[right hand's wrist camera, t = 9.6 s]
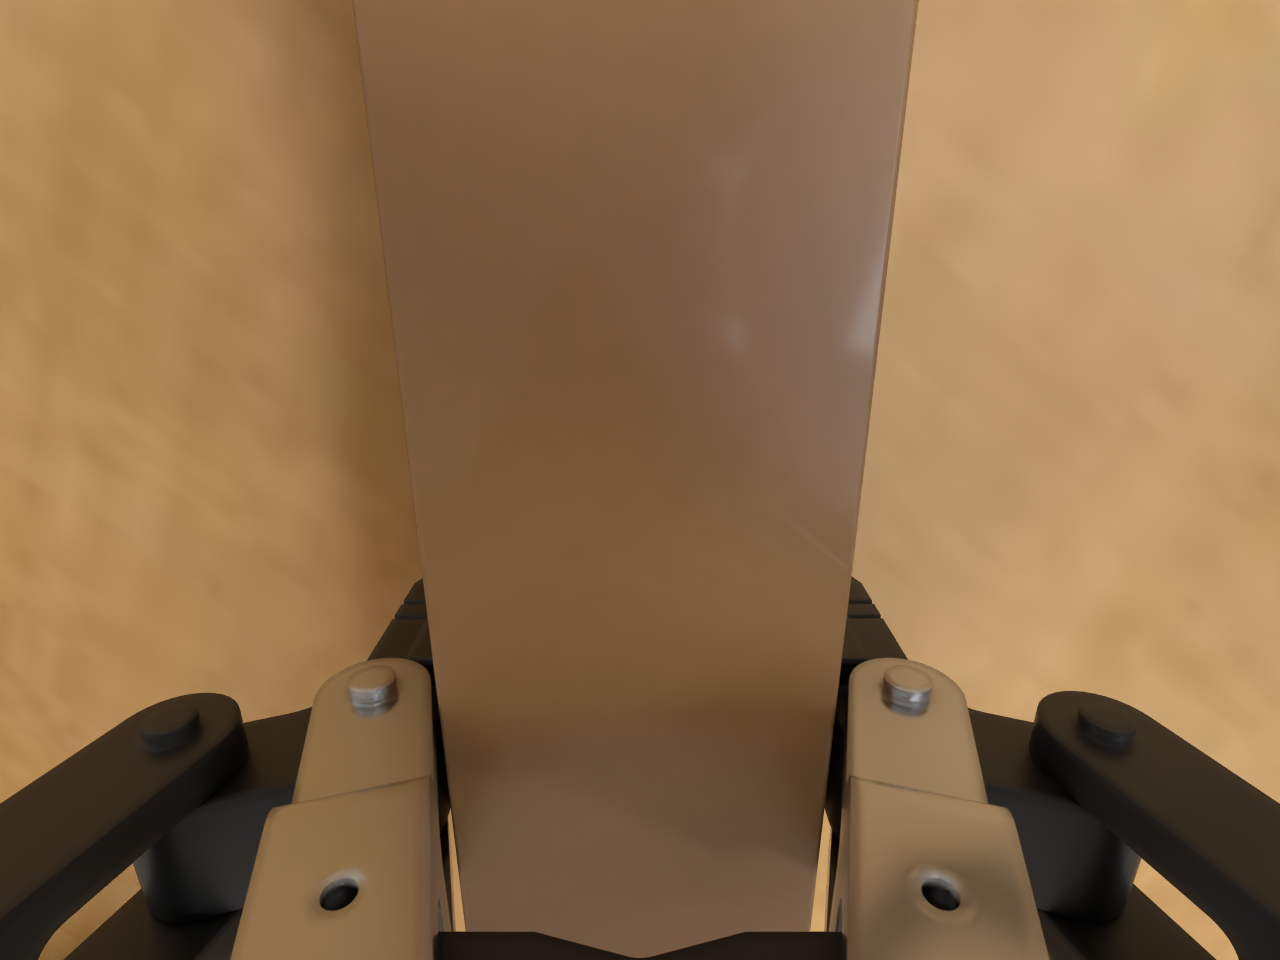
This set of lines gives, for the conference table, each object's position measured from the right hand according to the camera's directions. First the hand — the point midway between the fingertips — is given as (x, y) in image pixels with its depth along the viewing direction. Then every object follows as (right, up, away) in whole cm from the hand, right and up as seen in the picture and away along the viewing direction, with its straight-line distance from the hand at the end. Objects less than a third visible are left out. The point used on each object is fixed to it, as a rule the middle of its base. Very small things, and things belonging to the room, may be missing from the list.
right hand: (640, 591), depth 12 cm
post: (0, +34, -11) cm, 36 cm away
